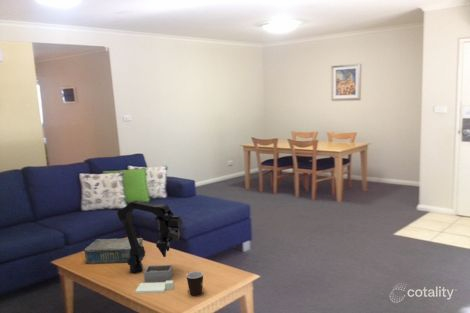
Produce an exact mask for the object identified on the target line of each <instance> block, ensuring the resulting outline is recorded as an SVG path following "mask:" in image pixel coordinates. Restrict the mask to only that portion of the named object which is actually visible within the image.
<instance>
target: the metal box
mask: <svg viewBox="0 0 470 313" xmlns="http://www.w3.org/2000/svg"><path fill="white" fill-rule="evenodd" d="M143 239H144V238H142V237H137V240H138V243H139V245H140V246H141V247H142V246H143V247H144V245H143ZM130 249H131V247H130V243H129V240H128V237H127V238H98V239H95V240H94V241H93V242H91V243H90V244H89V245H88V246H86V247H85V249H84V251H83V252H84V258H85V263H86V264H88V265H92V264H93V265H96V263H98V264H99V263H100V264H124V263H125V264H128V263H127V261H128V260H129V259H130V258H131V257H130ZM100 264H99V265H100Z"/></svg>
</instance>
